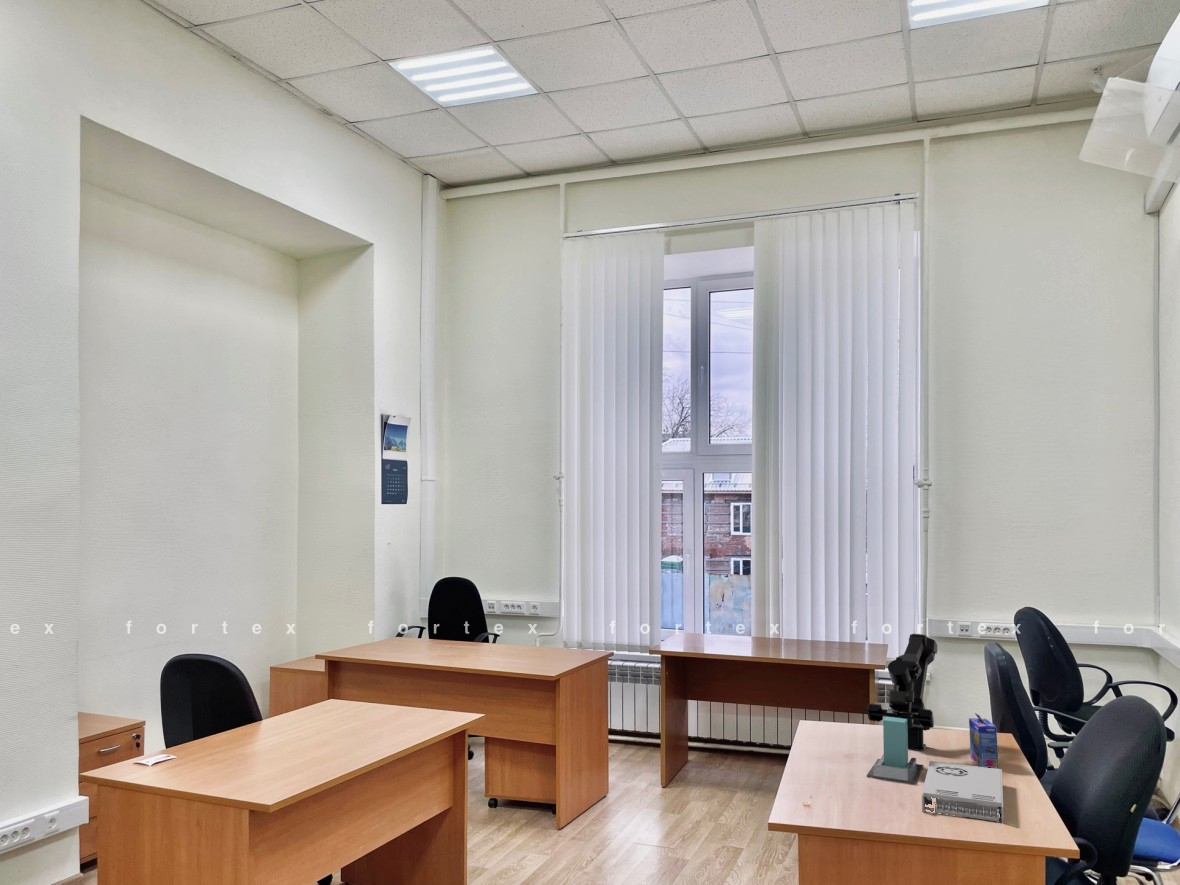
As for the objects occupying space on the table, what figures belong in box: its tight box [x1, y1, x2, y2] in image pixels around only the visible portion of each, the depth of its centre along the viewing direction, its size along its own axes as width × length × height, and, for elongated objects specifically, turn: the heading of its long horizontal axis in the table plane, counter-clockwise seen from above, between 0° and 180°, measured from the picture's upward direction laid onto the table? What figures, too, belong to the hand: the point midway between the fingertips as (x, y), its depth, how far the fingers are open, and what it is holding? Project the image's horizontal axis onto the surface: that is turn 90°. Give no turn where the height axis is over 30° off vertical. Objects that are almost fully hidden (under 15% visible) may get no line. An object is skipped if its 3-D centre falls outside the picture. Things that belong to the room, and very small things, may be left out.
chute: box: [866, 753, 924, 785], centre depth 260 cm, size 18×13×4 cm
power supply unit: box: [921, 760, 1005, 824], centre depth 238 cm, size 19×33×5 cm, turn 156°
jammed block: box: [882, 717, 909, 768], centre depth 262 cm, size 5×6×14 cm
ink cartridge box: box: [968, 712, 999, 769], centre depth 270 cm, size 10×6×14 cm, turn 174°
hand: (897, 739), depth 264 cm, fingers closed, pressing on jammed block
